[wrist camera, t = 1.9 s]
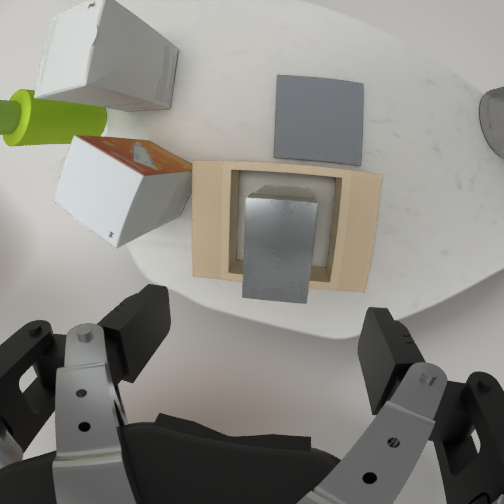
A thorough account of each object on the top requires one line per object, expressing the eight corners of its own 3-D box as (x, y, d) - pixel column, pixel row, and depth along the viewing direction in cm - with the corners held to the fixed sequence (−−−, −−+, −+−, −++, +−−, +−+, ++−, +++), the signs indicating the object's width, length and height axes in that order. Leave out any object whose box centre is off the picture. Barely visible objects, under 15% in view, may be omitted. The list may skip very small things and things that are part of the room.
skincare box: (135, 54, 26) (51, 13, 12) (183, 47, 26) (109, -12, 11) (125, 114, 29) (29, 100, 14) (173, 112, 28) (83, 84, 14)
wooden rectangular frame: (371, 172, 27) (382, 174, 24) (357, 277, 31) (364, 292, 27) (205, 160, 30) (192, 160, 26) (204, 263, 33) (192, 276, 29)
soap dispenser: (76, 99, 29) (-43, 89, 10) (111, 102, 29) (-21, 82, 10) (67, 140, 31) (-54, 149, 12) (100, 146, 31) (-34, 155, 12)
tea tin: (308, 188, 29) (317, 203, 18) (303, 252, 31) (306, 303, 20) (265, 184, 30) (246, 197, 18) (261, 249, 32) (242, 297, 20)
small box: (204, 169, 30) (146, 175, 18) (179, 218, 32) (116, 252, 20) (147, 138, 30) (72, 133, 17) (127, 185, 32) (51, 203, 20)
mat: (361, 85, 25) (363, 83, 24) (359, 165, 27) (360, 165, 27) (277, 77, 26) (277, 74, 25) (274, 157, 28) (273, 157, 28)
